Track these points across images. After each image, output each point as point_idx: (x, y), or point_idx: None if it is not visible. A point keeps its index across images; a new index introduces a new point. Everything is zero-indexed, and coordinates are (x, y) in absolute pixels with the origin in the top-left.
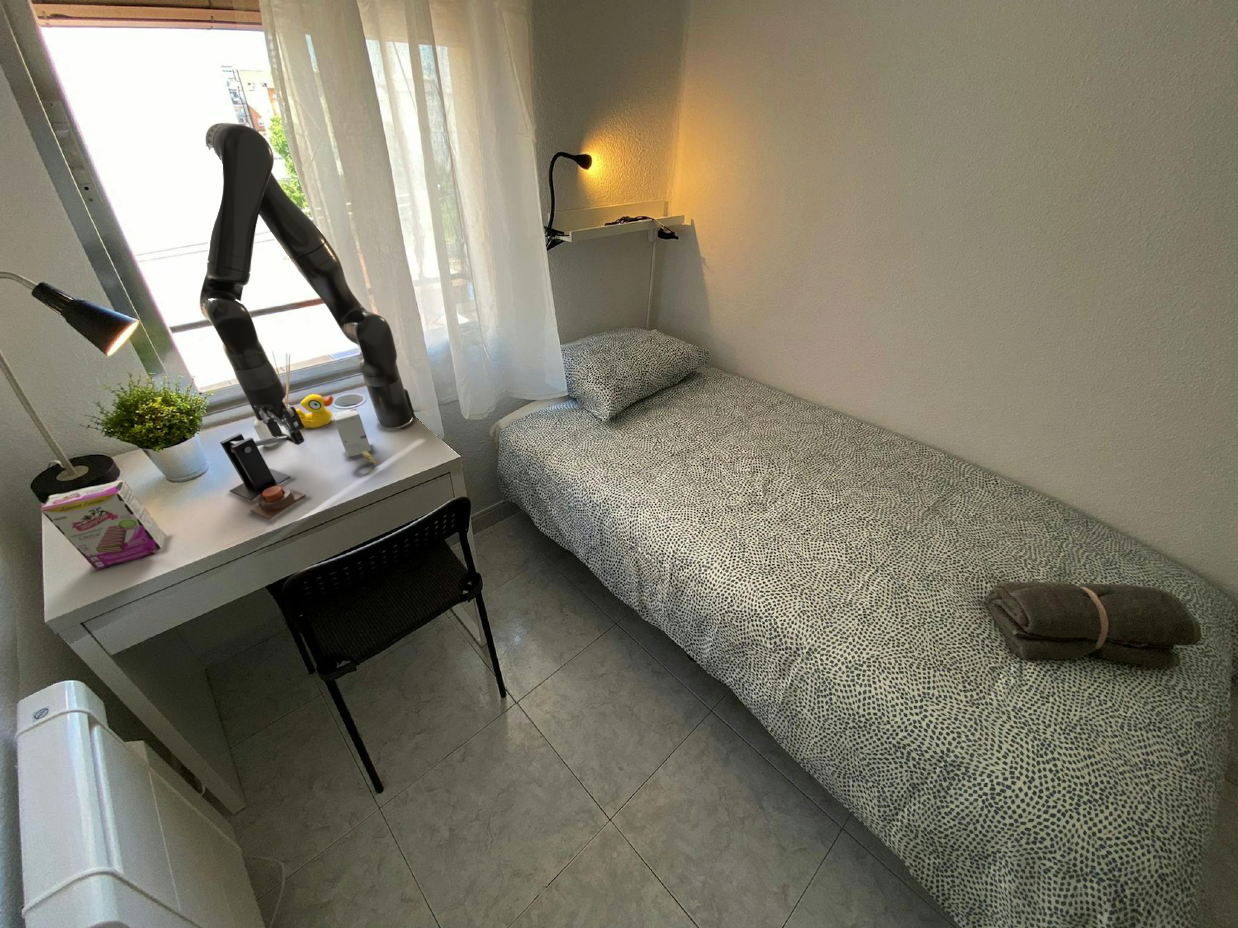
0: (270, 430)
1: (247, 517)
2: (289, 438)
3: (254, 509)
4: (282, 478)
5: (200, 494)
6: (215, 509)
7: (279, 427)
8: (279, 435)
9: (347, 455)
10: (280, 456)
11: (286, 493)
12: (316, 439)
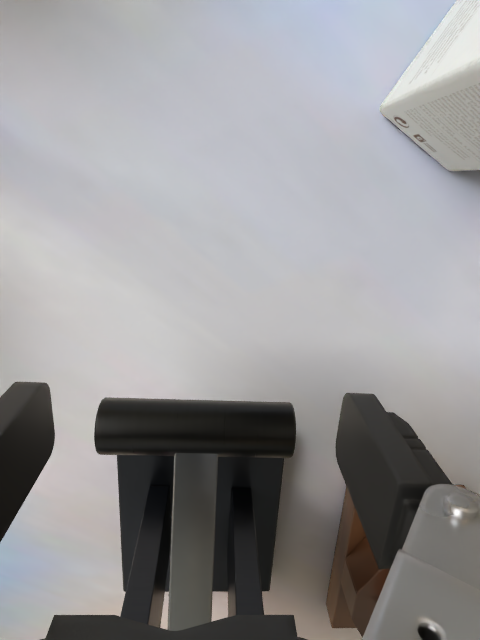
0: (15, 507)
1: (321, 615)
2: (257, 456)
3: (349, 622)
4: (265, 463)
5: (10, 612)
6: None
7: (16, 419)
8: (111, 454)
9: (466, 169)
10: (12, 307)
11: None
12: (15, 48)
